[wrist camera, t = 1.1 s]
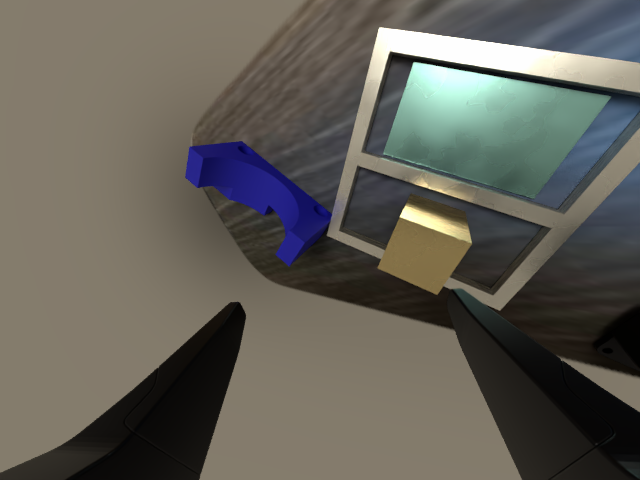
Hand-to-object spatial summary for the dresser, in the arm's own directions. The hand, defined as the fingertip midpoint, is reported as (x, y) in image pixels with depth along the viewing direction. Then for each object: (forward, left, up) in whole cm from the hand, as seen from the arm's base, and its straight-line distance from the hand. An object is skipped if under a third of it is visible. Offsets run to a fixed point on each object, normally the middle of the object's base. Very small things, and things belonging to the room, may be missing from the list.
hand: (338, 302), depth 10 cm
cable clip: (+11, +2, -12) cm, 17 cm away
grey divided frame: (-3, -4, -12) cm, 13 cm away
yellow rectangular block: (-3, 0, -12) cm, 12 cm away
